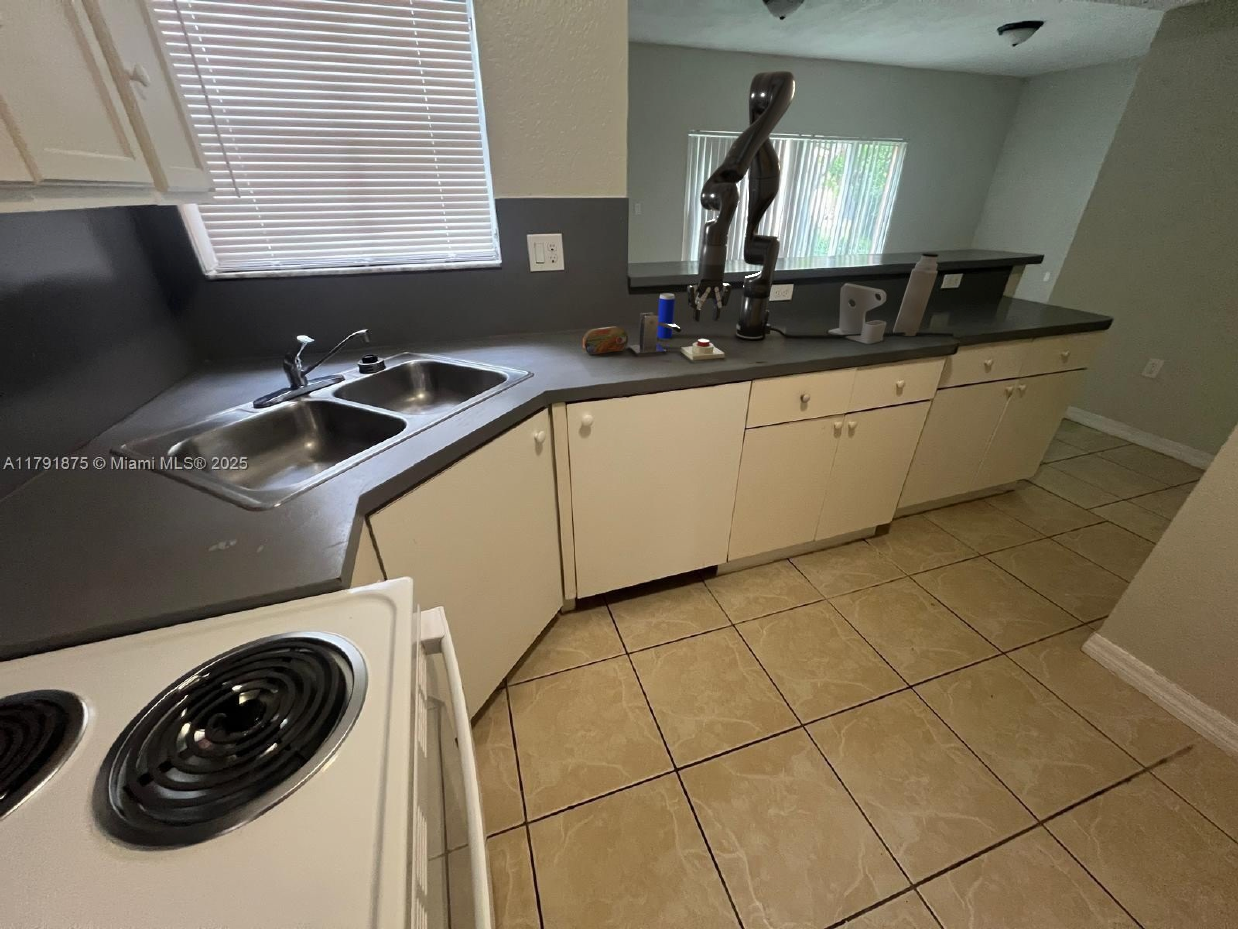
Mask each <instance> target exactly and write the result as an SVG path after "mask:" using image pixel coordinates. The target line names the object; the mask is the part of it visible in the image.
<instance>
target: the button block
mask: <svg viewBox="0 0 1238 929" xmlns="http://www.w3.org/2000/svg"><path fill="white" fill-rule="evenodd" d="M680 353H682V354H683V355H684V356H686V357H687V358H688V359H690V360H691V361H700V360H701V361H702V360H711V359H723V358H726V357H725V356H726V353H725V352H724V351H722V350H720V349H719V348H717V347H716V346H714V344H713V343H712V342H709V346H708V347H701V346H698V341H696V342H693V343H692V346H684V347H683V346H682V347H680Z"/></svg>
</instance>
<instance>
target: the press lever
mask: <svg viewBox="0 0 1238 929" xmlns="http://www.w3.org/2000/svg"><path fill="white" fill-rule="evenodd" d="M645 316H647V315H645ZM643 323H644V320H643ZM658 325H659V326H663V327H667V328H670V329H673V331H675V332H677V333H681V332H682V328H681V327H679V326H678V325H676V324H675V323H673V324H672V325H669V324H666V323H662V322H659V321H658Z"/></svg>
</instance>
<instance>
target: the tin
mask: <svg viewBox="0 0 1238 929" xmlns="http://www.w3.org/2000/svg"><path fill="white" fill-rule="evenodd" d="M628 342H629V336H628V333H627V331H626V330H625V329H624V328H623V327H620V326H615V325H613V326H608V327H607V326H606V327H600V328H599V327H598V328H592V329H589V330H588V331H586V333H584V336H583V338H582V347H583V350H584V352H585V353H586V354H588V355H589V356H592V355H599V354H605V353H611V352H619V351H624V350H625V349H626V348H627V346H628Z"/></svg>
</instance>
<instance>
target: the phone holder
mask: <svg viewBox="0 0 1238 929" xmlns="http://www.w3.org/2000/svg"><path fill="white" fill-rule="evenodd" d="M839 294H840V296H839V297H840V299H839V325H838V326H839V327H837V328H833V329H829V330H828V334H829V335H845V334H861V335H860V336H846V337H843V338H845V339H848V340H852V341H856V342H858V343H863V344H867V345H871V344H875V343H879V342H882V341H883V340H884V335H883V334H884V333H885V331H886V327H887V322H886V321H885V320H880V319H876V320H875V319H874V320H871V321H867V322H866V313H867V312H869V311H871V310H873V309H876V308H878V307H880V306H882V305H883V304H885V302H886V301H887V293H886V291H884V290H883V289H880V288H876V287H869V286H866V285H859V284H855V283H847V282H846V283H845V284H843V285H842V286H841V287H840V293H839ZM876 294H877V295H879V296H880V300H879V299H877V297H876ZM851 300H852V301H853V302H854V306H852V305H851V304H850V301H851Z"/></svg>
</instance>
